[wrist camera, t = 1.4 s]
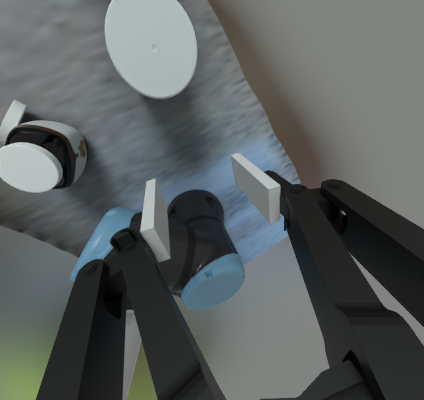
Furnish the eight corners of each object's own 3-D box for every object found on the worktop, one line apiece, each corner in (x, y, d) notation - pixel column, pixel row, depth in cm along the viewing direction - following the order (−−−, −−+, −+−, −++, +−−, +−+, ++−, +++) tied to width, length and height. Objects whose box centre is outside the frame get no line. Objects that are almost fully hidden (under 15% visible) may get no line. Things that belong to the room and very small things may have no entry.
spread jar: (89, 175, 37) (65, 204, 28) (19, 165, 33) (-38, 196, 24) (87, 113, 32) (56, 123, 22) (2, 93, 28) (-80, 95, 18)
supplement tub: (111, 58, 29) (77, 34, 17) (150, 8, 27) (144, -58, 15) (158, 108, 34) (159, 118, 22) (194, 68, 32) (216, 56, 20)
